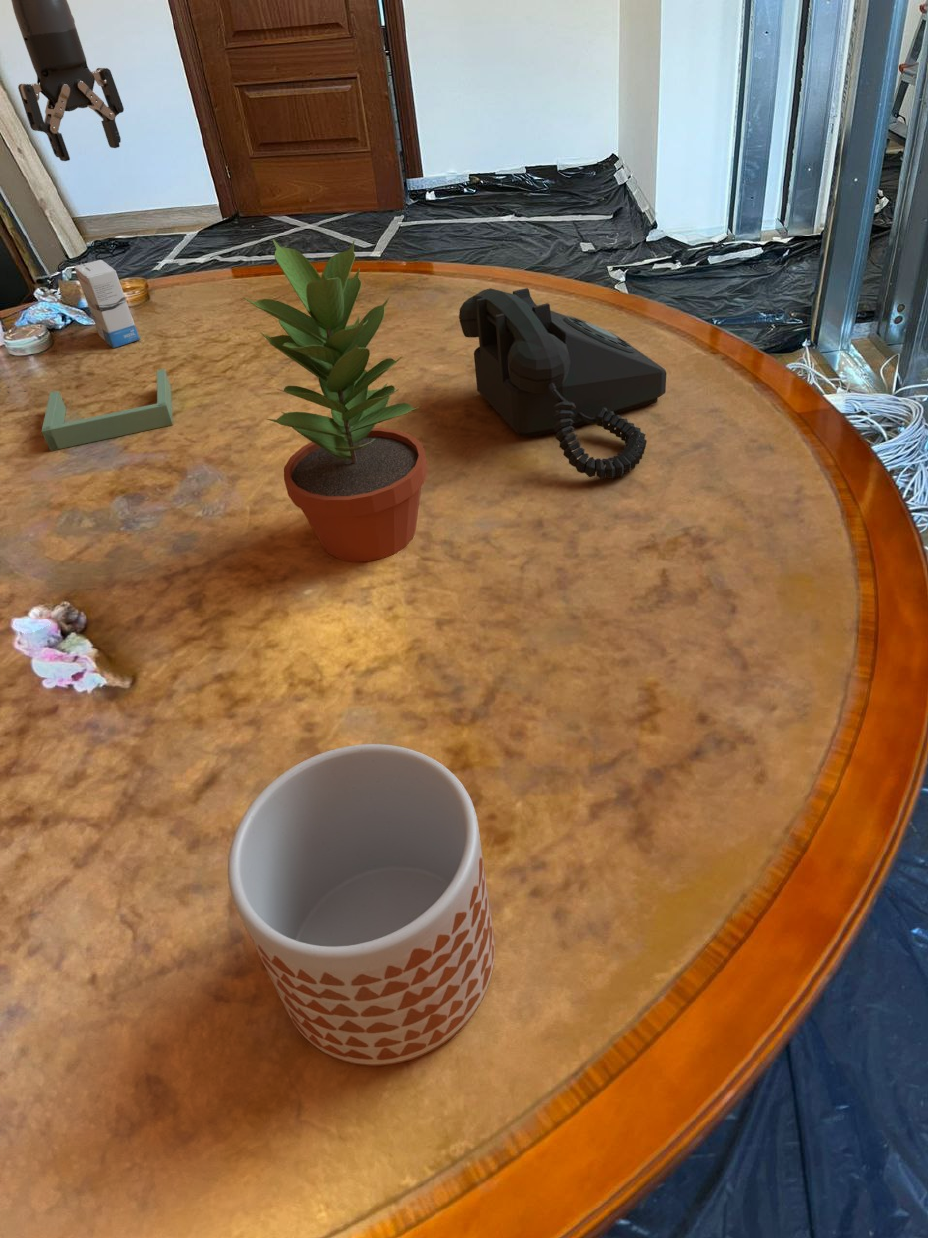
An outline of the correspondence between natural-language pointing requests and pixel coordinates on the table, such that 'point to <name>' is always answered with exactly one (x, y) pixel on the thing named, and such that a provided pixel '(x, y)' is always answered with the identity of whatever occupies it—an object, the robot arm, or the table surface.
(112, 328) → the ink box
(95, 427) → the bracket
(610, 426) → the rotary telephone
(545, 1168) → the table surface
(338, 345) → the potted plant
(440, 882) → the planter
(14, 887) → the table surface
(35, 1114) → the table surface
